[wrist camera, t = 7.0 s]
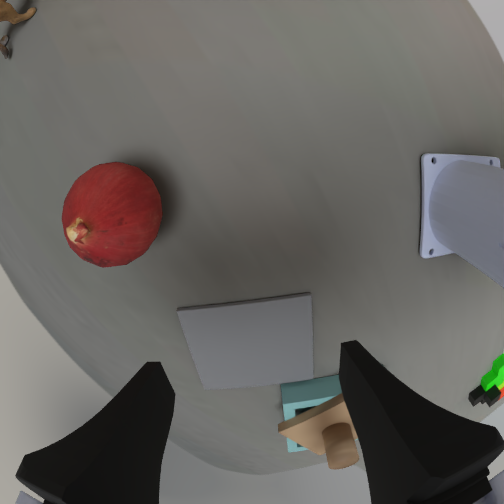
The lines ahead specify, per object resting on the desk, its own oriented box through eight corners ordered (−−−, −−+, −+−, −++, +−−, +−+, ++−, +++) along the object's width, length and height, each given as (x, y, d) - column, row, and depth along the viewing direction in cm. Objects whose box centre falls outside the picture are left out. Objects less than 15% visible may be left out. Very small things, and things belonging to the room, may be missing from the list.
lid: (353, 386, 21) (369, 431, 16) (382, 416, 23) (396, 453, 18) (277, 424, 23) (281, 467, 18) (318, 448, 25) (324, 484, 20)
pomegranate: (163, 252, 19) (117, 316, 12) (94, 226, 18) (27, 272, 11) (187, 172, 17) (141, 193, 10) (111, 149, 16) (34, 159, 9)
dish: (382, 364, 23) (391, 381, 21) (368, 419, 27) (374, 435, 25) (280, 383, 24) (282, 404, 21) (286, 435, 27) (288, 452, 25)
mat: (310, 292, 20) (311, 295, 20) (312, 375, 23) (313, 378, 23) (177, 308, 21) (176, 311, 20) (205, 386, 24) (204, 389, 24)
